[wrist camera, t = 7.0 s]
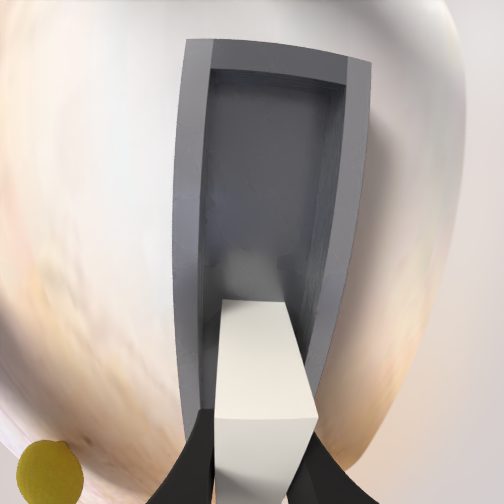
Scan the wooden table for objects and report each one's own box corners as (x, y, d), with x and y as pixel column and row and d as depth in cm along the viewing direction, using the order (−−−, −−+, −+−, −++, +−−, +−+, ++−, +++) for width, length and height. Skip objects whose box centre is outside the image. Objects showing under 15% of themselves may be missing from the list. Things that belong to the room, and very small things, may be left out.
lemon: (105, 463, 18) (85, 536, 10) (61, 456, 18) (37, 518, 10) (69, 424, 16) (35, 505, 8) (26, 418, 16) (-8, 484, 9)
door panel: (264, 424, 15) (274, 516, 9) (218, 423, 14) (216, 517, 9) (284, 302, 12) (318, 417, 6) (222, 299, 12) (214, 418, 6)
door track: (284, 437, 17) (290, 473, 14) (191, 434, 16) (187, 471, 13) (345, 81, 10) (376, 64, 7) (193, 65, 10) (180, 39, 7)
